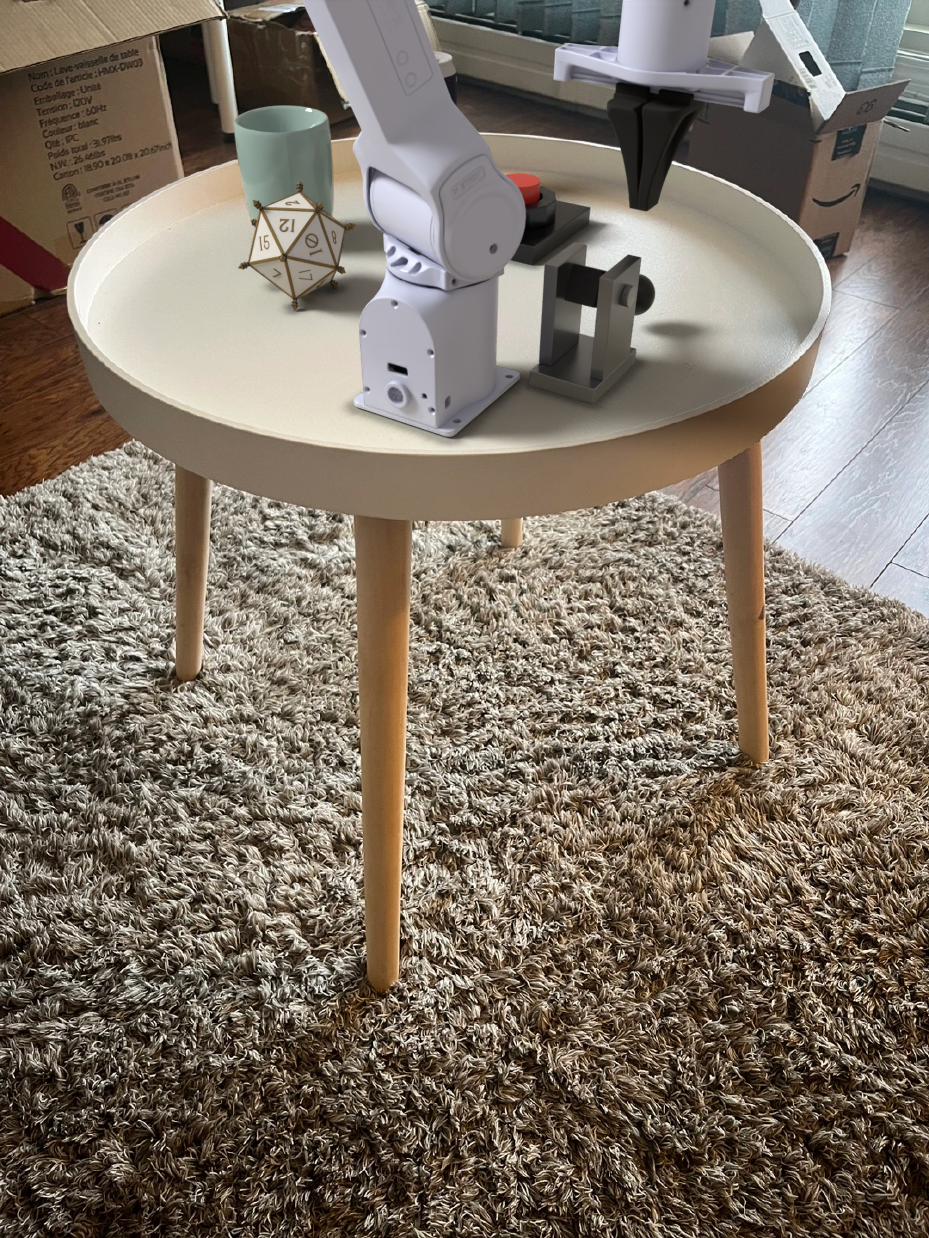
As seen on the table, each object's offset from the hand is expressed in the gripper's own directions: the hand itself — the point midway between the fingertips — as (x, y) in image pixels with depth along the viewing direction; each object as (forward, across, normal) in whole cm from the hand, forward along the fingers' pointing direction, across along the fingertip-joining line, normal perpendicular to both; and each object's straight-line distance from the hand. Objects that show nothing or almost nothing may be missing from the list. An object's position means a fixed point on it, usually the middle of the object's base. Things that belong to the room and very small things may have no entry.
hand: (643, 205), depth 71 cm
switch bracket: (+9, 0, +8) cm, 13 cm away
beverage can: (+9, +29, -16) cm, 35 cm away
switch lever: (+6, 0, +5) cm, 8 cm away
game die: (+10, +25, +8) cm, 28 cm away
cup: (+10, +33, 0) cm, 34 cm away
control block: (+9, +16, -12) cm, 22 cm away
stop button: (+6, +16, -12) cm, 21 cm away
